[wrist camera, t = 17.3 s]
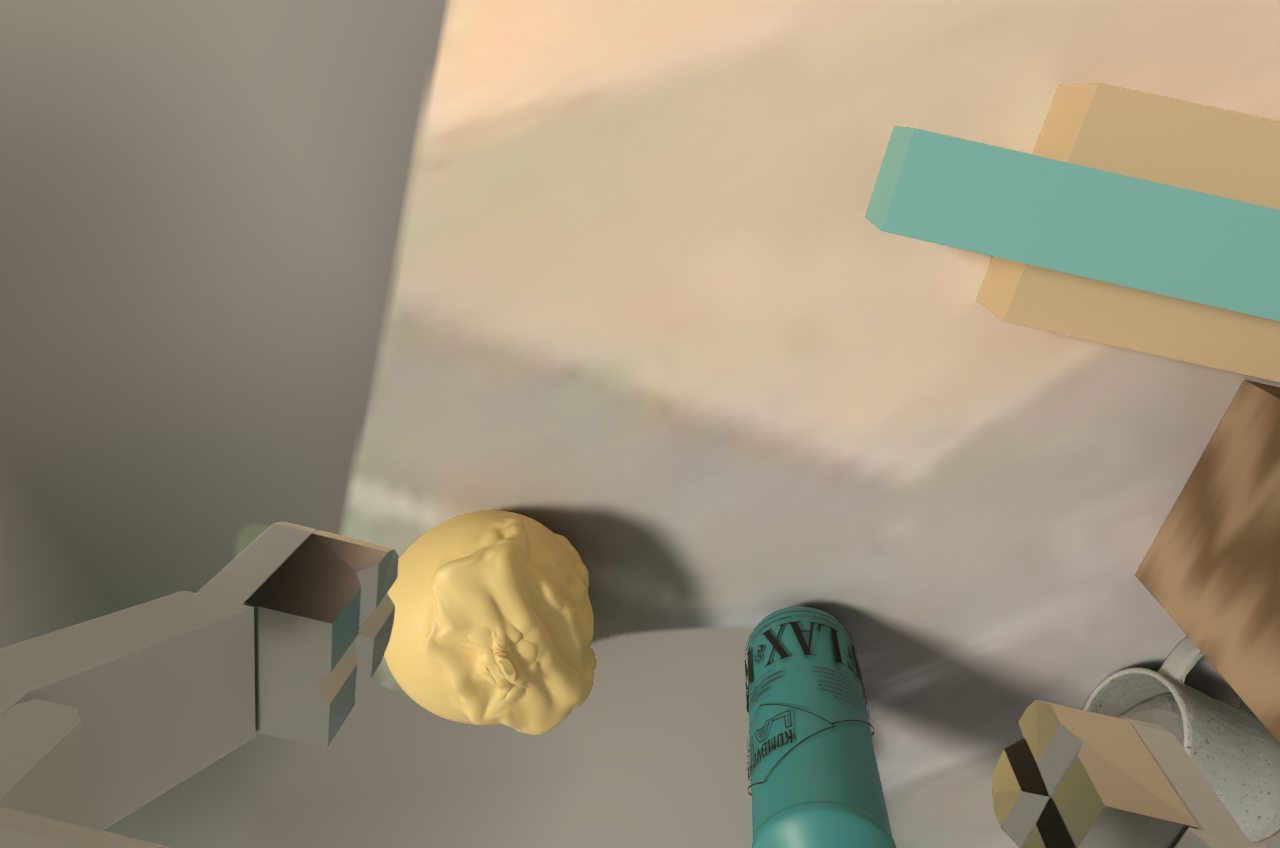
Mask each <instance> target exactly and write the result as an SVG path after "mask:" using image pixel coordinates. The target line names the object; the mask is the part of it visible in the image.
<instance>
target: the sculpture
mask: <svg viewBox="0 0 1280 848" xmlns="http://www.w3.org/2000/svg"><path fill="white" fill-rule="evenodd" d="M588 587H589V572H588V570H587V568H586V567H585V565H584V564H583V562H582V560H581V558H580V556H579V554H578V552H577V550H576V549H575V548H574V547H573V546H572V545H571V543H570V542H569V541H568V539H567V538H566V537H564V536H562V535H559V534H556V533H554V532H552V531H551V530H549V529H548V528H547V527H545V526H544V525H542V524H541V523H539V522H537V521H535V520H534V519H531V518H529V517H527V516H524V515H521V514H517V513H513V512H507V511H496V510H490V511H478V512H472V513H468V514H464V515H460V516H457V517H455V518H452V519H450V520H447V521H445V522H443V523H441V524H439V525H438V526H436V527H434V528H433V529H431V530H430V531H428V532H427V533H425V534H424V535H423V536H421V537H420V538H419V539H418V540H416V541H415V542H414V543H413V544H412V545H411V546H410V547H409V548H408V549H407V550H406V551H405V552H404V554H403V555H402V556H401V557H400V559H399V560H398V578H397V579H396V581H395V582H394V584H393V585H392V586H391V588H390V589H389V591H388V592H387V594H388V595H389V597H390V599H391V600H392V602H393V603H394V605H395V614H394V623H393V628H392V632H391V637H390V641H389V643H388V646H387V648H386V651H385V653H384V656H385V659H386V662H387V664H388V667H389V669H390V671H391V673H392V674H393V676H394V678H395V679H396V681H397V682H398V684H399V685H400V686H401V688H402V689H403V690H404V691H405V692H406V693H407V694H408V695H409V696H410V697H411V698H412V699H413V700H414V701H415V702H417V703H418V704H420V705H421V706H422V707H424V708H425V709H427V710H429V711H430V712H432V713H434V714H436V715H438V716H441V717H443V718H446V719H449V720H452V721H457V722H462V723H470V724H476V725H486V724H505V725H507V726H509V727H512V728H515V729H516V730H517V731H519V732H521V733H528V734H532V735H539V734H543V733H546V732H548V731H550V730H551V729H553V728H554V727H556V726H557V725H558V724H559V723H561V722H562V721H563V720H564V719H565V718H566V717H567V716H568V715H569V714H570V712H571V711H572V709H574V708H576V707H578V706H580V705H581V704H582V703H583V702H584V701H585V700H586V699H587V697H588V696H589V694H590V692H591V689H592V685H593V675H594V673H593V670H594V669H595V666H596V659H595V654H594V651H593V650H592V649H591V648H590V642H591V641H592V638H593V634H594V615H593V610H592V606H591V603H590V599H589V596H588Z"/></svg>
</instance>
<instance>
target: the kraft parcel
mask: <svg viewBox="0 0 1280 848" xmlns="http://www.w3.org/2000/svg"><path fill="white" fill-rule="evenodd" d="M1032 155H1036V156H1040V157H1045V158H1049V159H1054V160H1058V161H1063V162H1067V163H1071V164H1076V165H1080V166H1085V167H1089V168H1094V169H1098V170H1103V171H1107V172H1112V173H1116V174H1120V175H1125V176H1129V177H1134V178H1138V179H1143V180H1147V181H1152V182H1156V183H1161V184H1165V185H1170V186H1174V187H1178V188H1183V189H1187V190H1192V191H1196V192H1201V193H1205V194H1210V195H1214V196H1219V197H1223V198H1227V199H1232V200H1236V201H1241V202H1245V203H1250V204H1254V205H1259V206H1263V207H1268V208H1272V209H1277V210H1280V121H1277V120H1272V119H1267V118H1262V117H1258V116H1253V115H1248V114H1243V113H1239V112H1234V111H1229V110H1225V109H1220V108H1215V107H1210V106H1206V105H1201V104H1196V103H1191V102H1187V101H1182V100H1177V99H1173V98H1168V97H1163V96H1158V95H1154V94H1149V93H1144V92H1140V91H1135V90H1130V89H1125V88H1121V87H1116V86H1111V85H1106V84H1102V83H1090V84H1072V85H1059V87H1058V90H1057V92H1056V95H1055V97H1054V100H1053V103H1052V105H1051V108H1050V110H1049V113H1048V116H1047V118H1046V121H1045V123H1044V126H1043V129H1042V131H1041V134H1040V136H1039V139H1038V142H1037V144H1036V147H1035V149H1034V152H1033V154H1032ZM976 301H978V302H979V303H980V304H981V305H983V306H984V307H985V308H986V309H988V310H989V311H990V312H991V313H993V314H994V315H995V316H996V317H998V318H999V319H1000V320H1001V321H1003V322H1007V323H1011V324H1016V325H1021V326H1025V327H1030V328H1034V329H1039V330H1043V331H1048V332H1053V333H1057V334H1062V335H1066V336H1071V337H1075V338H1080V339H1084V340H1089V341H1094V342H1098V343H1103V344H1107V345H1112V346H1116V347H1121V348H1125V349H1130V350H1135V351H1139V352H1144V353H1148V354H1153V355H1157V356H1162V357H1166V358H1171V359H1176V360H1180V361H1185V362H1189V363H1194V364H1198V365H1203V366H1207V367H1212V368H1217V369H1221V370H1226V371H1230V372H1235V373H1239V374H1244V375H1249V376H1253V377H1258V378H1262V379H1267V380H1271V381H1276V382H1280V321H1276V320H1271V319H1267V318H1263V317H1258V316H1254V315H1249V314H1245V313H1241V312H1236V311H1232V310H1227V309H1223V308H1219V307H1214V306H1210V305H1205V304H1201V303H1197V302H1192V301H1188V300H1183V299H1179V298H1175V297H1170V296H1166V295H1161V294H1157V293H1153V292H1148V291H1144V290H1139V289H1135V288H1131V287H1126V286H1122V285H1117V284H1113V283H1108V282H1104V281H1100V280H1095V279H1091V278H1086V277H1082V276H1078V275H1073V274H1069V273H1064V272H1060V271H1056V270H1051V269H1047V268H1042V267H1038V266H1034V265H1029V264H1025V263H1020V262H1016V261H1012V260H1007V259H1003V258H998V257H994V256H993V258H992V261H991V263H990V266H989V269H988V271H987V274H986V276H985V279H984V281H983V284H982V287H981V289H980V292H979V294H978V297H977V300H976Z"/></svg>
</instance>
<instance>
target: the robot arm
mask: <svg viewBox="0 0 1280 848" xmlns="http://www.w3.org/2000/svg"><path fill="white" fill-rule="evenodd" d="M397 578H398V554H397V553H396V551H395V549H392V548H388V547H384V546H380V545H376V544H372V543H368V542H364V541H360V540H356V539H353V538H349V537H345V536H341V535H337V534H333V533H329V532H325V531H318V530H316V529H312V528H308V527H304V526H300V525H296V524H291V523H287V522H279V523H274V524H272V525H271V526H270V527H268V528H267V529H266V530H265V531H264V532H263V533H262V534H261V535H260V536H259V537H257V538H256V539H255V540H254V541H253V542H252V543H251V544H250V545H249V546H248V547H246V548H245V549H244V550H243V551H242V552H241V553H240V554H239V555H238V556H237V557H235V558H234V559H233V560H232V561H231V562H230V563H229V564H228V565H227V566H226V567H224V568H223V569H222V570H221V571H220V572H219V573H218V574H217V575H216V576H215V577H213V579H211V580H210V581H209V582H208V583H207V584H206V585H205V586H204V587H202V588H201V589H200V590H199V591H198V592H197V593H192V592H187V591H181V592H178V593H175V594H172V595H168V596H165V597H162V598H159V599H156V600H153V601H150V602H146V603H144V604H141V605H137V606H134V607H131V608H128V609H124V610H121V611H118V612H115V613H112V614H109V615H105V616H102V617H99V618H96V619H93V620H90V621H87V622H83V623H80V624H77V625H74V626H71V627H68V628H64V629H61V630H58V631H55V632H52V633H49V634H46V635H43V636H39V637H37V638H33V639H30V640H27V641H23V642H20V643H17V644H14V645H11V646H8V647H5V648H1V649H0V848H171V847H166V846H162V845H158V844H154V843H150V842H146V841H142V840H138V839H133V838H130V837H125V836H121V835H117V834H113V833H109V832H104V831H102V830H104V829H105V828H107V827H109V826H110V825H112V824H114V823H115V822H117V821H118V820H120V819H122V818H123V817H125V816H127V815H128V814H130V813H132V812H133V811H135V810H137V809H138V808H140V807H141V806H143V805H145V804H146V803H148V802H150V801H151V800H153V799H155V798H156V797H158V796H160V795H161V794H163V793H164V792H166V791H168V790H169V789H171V788H173V787H174V786H175V785H178V784H179V783H181V782H182V781H184V780H186V779H187V778H189V777H190V776H192V775H194V774H196V773H197V772H199V771H200V770H202V769H204V768H205V767H207V766H209V765H210V764H212V763H214V762H215V761H217V760H218V759H220V758H222V757H223V756H225V755H226V754H228V753H230V752H232V751H233V750H235V749H236V748H238V747H240V746H241V745H243V744H244V743H246V742H248V741H249V740H251V739H253V738H254V737H255V736H256V733H261V734H265V735H270V736H275V737H279V738H285V739H289V740H294V741H299V742H304V743H308V744H313V745H318V746H323V747H327V748H328V746H329V745H330V743H331V742H332V740H333V738H334V737H335V735H336V734H337V732H338V731H339V729H340V727H341V726H342V724H343V723H344V721H345V720H346V718H347V716H348V715H349V713H350V712H351V710H352V708H353V707H354V703H355V689H356V686H358V685H360V684H362V683H364V682H366V681H368V680H370V679H371V678H372V676H373V675H374V673H375V671H376V670H377V668H378V666H379V665H380V663H381V661H382V658H383V656H384V653H385V651H386V648H387V646H388V643H389V641H390V637H391V632H392V628H393V623H394V614H395V605H394V603H393V602H392V600H391V599H390V597H389V595H388V594H387V592H388V591H389V589H390V588H391V586H392V585H393V584H394V582H395V581H396V579H397ZM1018 724H1019V727H1020V730H1021V733H1022V736H1023V739H1021V740H1020V741H1018V742H1016V743H1014V744H1012V745H1010V746H1008V747H1007V748H1005V749H1004V750H1003V752H1002V754H1001V756H1000V758H999V761H998V763H997V765H996V767H995V769H994V778H993V787H992V795H993V803H994V810H995V812H996V815H997V818H998V821H999V824H1000V827H1001V829H1002V830H1003V831H1004V832H1005V833H1006V834H1007V835H1008V836H1009V837H1010V838H1011V839H1012V840H1013V841H1014V842H1015V843H1016V844H1017V845H1018V847H1019V848H1267V847H1266V846H1264V845H1262V844H1257V843H1253V842H1250V841H1249V840H1248V838H1247V837H1246V835H1245V834H1244V833H1243V831H1242V830H1241V828H1240V827H1239V826H1238V824H1237V823H1236V821H1235V820H1234V818H1233V817H1232V816H1231V814H1230V813H1229V811H1228V810H1227V809H1226V807H1225V806H1224V804H1223V803H1222V802H1221V800H1220V799H1219V797H1218V796H1217V795H1216V793H1215V792H1214V790H1213V789H1212V787H1211V786H1210V785H1209V783H1208V782H1207V780H1206V779H1205V778H1204V776H1203V775H1202V773H1201V772H1200V771H1199V769H1198V768H1197V766H1196V765H1195V764H1194V762H1193V761H1192V759H1191V758H1190V756H1189V755H1188V754H1187V752H1186V751H1185V749H1184V748H1183V747H1182V745H1181V744H1180V742H1179V741H1178V740H1177V738H1176V737H1175V735H1174V734H1173V733H1171V732H1170V731H1168V730H1167V729H1166V728H1164V727H1163V726H1161V725H1157V724H1152V723H1147V722H1143V721H1138V720H1133V719H1128V718H1123V717H1117V718H1116V717H1112V716H1107V715H1103V714H1098V713H1094V712H1090V711H1085V710H1081V709H1077V708H1072V707H1068V706H1063V705H1059V704H1055V703H1050V702H1046V701H1041V700H1035V701H1034V702H1033V703H1032V704H1030V705H1029V706H1028V707H1027V708H1026V710H1025V711H1024V713H1023V715H1022V717H1021V718H1020V720H1019V722H1018Z"/></svg>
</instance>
